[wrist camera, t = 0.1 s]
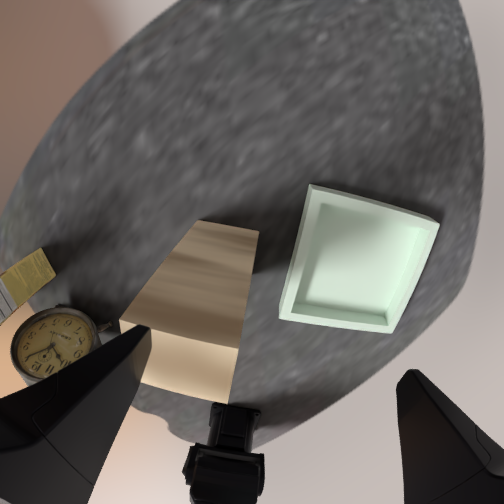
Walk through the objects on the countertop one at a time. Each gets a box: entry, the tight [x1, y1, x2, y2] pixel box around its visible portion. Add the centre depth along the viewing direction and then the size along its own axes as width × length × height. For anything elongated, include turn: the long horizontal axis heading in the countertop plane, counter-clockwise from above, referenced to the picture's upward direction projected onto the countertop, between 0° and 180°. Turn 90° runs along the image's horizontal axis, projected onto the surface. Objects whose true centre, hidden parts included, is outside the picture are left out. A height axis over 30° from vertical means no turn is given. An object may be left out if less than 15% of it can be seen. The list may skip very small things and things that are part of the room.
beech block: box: [119, 220, 259, 404], centre depth 17 cm, size 4×5×13 cm
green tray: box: [279, 184, 440, 333], centre depth 21 cm, size 11×11×2 cm
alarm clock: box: [10, 305, 113, 386], centre depth 21 cm, size 11×5×16 cm, turn 83°
